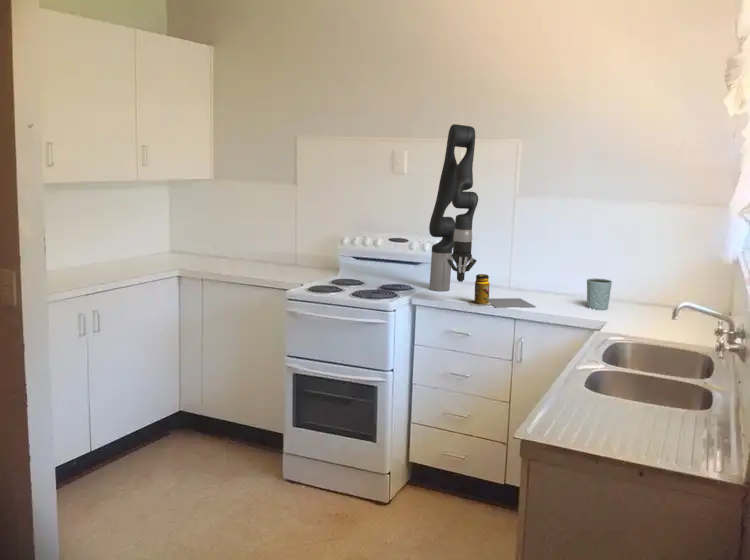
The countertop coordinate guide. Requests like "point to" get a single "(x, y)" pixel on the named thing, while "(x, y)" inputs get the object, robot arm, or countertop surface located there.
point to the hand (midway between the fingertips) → (460, 281)
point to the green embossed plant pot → (598, 293)
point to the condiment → (481, 290)
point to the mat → (509, 302)
